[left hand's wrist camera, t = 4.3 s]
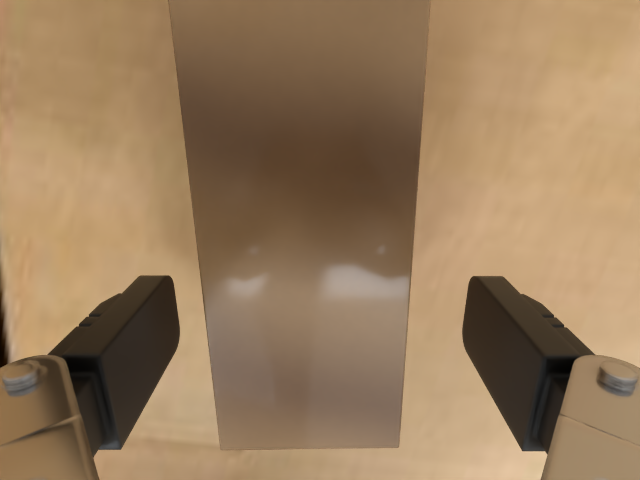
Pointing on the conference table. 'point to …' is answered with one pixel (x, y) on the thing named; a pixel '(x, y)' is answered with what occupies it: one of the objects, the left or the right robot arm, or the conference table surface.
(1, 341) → the conference table surface
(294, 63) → the cabinet
